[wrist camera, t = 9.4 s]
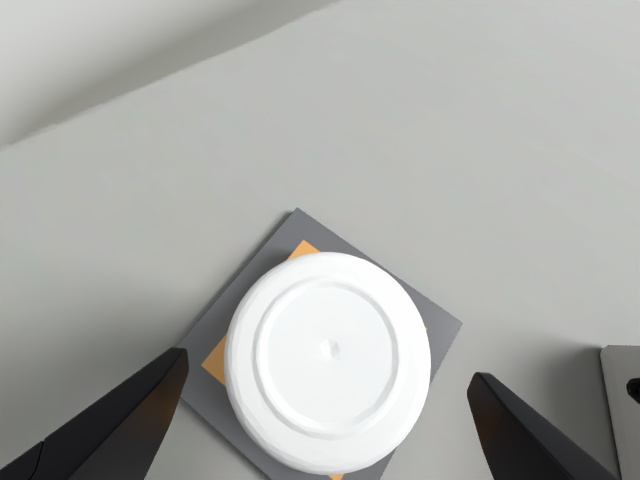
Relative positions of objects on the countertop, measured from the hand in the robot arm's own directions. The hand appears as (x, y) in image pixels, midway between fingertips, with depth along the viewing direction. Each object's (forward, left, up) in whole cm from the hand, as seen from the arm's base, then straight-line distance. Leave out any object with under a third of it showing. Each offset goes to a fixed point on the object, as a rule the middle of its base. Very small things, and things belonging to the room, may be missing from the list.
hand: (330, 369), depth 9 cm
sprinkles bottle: (0, +1, -10) cm, 10 cm away
